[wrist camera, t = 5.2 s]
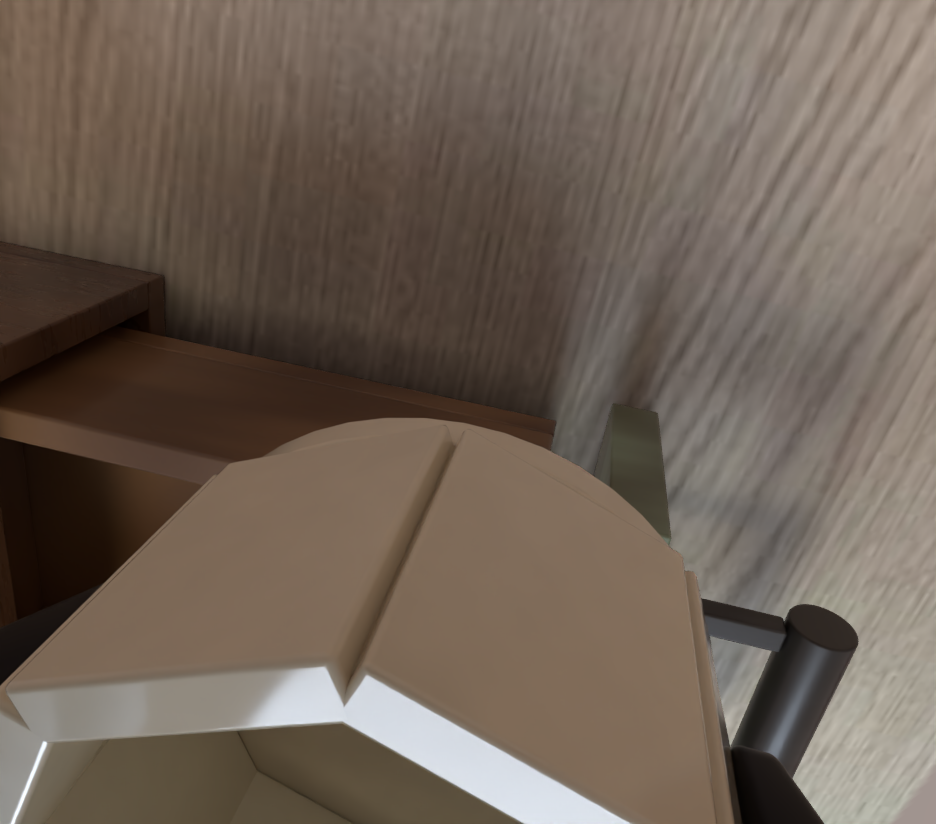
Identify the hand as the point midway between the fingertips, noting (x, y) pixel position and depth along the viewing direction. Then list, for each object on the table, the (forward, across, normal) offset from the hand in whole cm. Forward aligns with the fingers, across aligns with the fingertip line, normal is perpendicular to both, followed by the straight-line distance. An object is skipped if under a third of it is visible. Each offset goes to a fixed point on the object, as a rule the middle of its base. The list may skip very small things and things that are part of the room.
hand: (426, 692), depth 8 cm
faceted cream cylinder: (0, 0, 0) cm, 1 cm away
